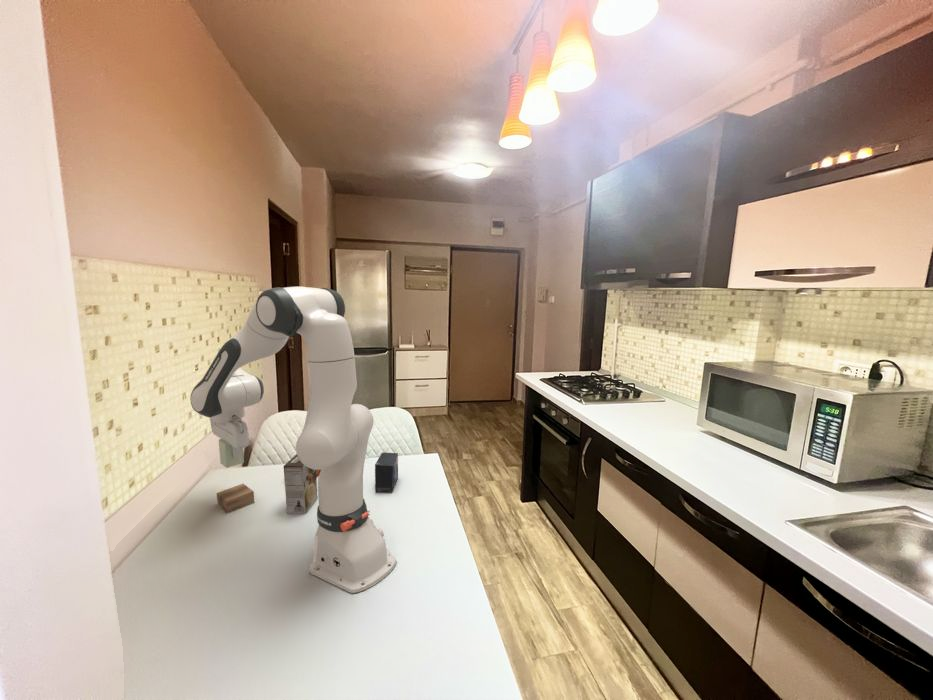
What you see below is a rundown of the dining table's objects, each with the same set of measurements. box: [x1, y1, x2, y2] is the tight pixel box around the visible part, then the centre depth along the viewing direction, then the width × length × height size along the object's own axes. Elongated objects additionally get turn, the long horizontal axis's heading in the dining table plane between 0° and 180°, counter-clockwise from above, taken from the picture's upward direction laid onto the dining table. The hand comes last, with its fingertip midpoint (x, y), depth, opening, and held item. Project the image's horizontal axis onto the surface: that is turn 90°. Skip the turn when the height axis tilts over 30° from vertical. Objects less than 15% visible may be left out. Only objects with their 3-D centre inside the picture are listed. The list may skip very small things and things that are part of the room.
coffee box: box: [283, 453, 318, 515], centre depth 122 cm, size 9×6×16 cm
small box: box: [374, 451, 399, 494], centre depth 136 cm, size 11×6×10 cm, turn 179°
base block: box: [216, 483, 255, 514], centre depth 124 cm, size 8×8×4 cm
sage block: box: [218, 438, 245, 469], centre depth 122 cm, size 5×5×8 cm
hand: (231, 453), depth 122 cm, fingers closed on sage block, 5 cm apart
